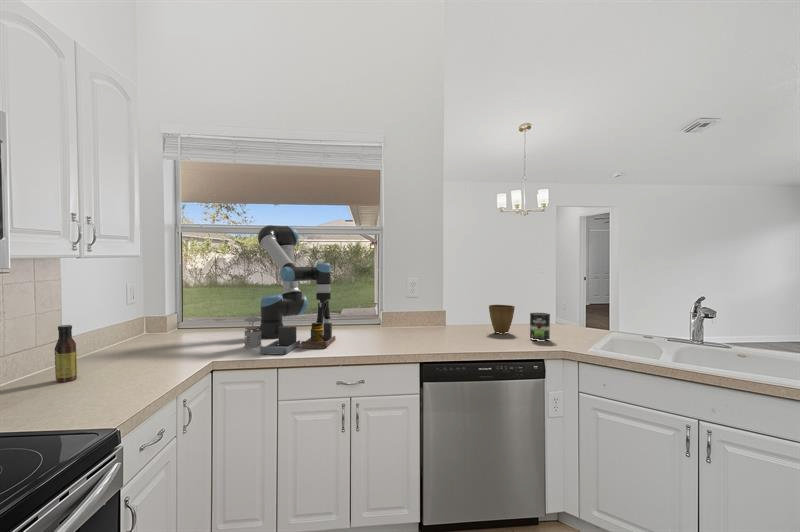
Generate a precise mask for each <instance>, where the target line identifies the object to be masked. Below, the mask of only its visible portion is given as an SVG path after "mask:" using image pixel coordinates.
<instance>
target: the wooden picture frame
mask: <svg viewBox="0 0 800 532" xmlns="http://www.w3.org/2000/svg"><path fill="white" fill-rule="evenodd" d="M335 341H336V335H333V323H332V322H329V323H324V335H323V341H311V337H309V338H308V339H306V340H301V341H300V345H301V346H300V347H301V348H302V349H326V348H328V347H329V346H331V344H332V343H334V342H335Z"/></svg>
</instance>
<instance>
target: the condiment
mask: <svg viewBox="0 0 800 532" xmlns="http://www.w3.org/2000/svg"><path fill="white" fill-rule="evenodd" d="M310 338H311V341H323V328H322V323H317V322H311V328H310Z"/></svg>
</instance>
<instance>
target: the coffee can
mask: <svg viewBox="0 0 800 532" xmlns="http://www.w3.org/2000/svg"><path fill="white" fill-rule="evenodd" d="M529 315H530V316H529V317H530V318H529V339H530V338H533V339H539V340H547V339H550V338H551V337H550V334H551V333H550V330H551V329H550V327H551V320H550V319H551V318H550V317H551V314H550V313H547V312H530V313H529Z"/></svg>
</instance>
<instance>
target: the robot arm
mask: <svg viewBox="0 0 800 532" xmlns="http://www.w3.org/2000/svg"><path fill="white" fill-rule="evenodd" d="M257 241H258V244H259V245H260V247H261V248H262V249H264V250H265V251H266V252H267V253H268V255H269V256H270V257H271V258H270V259H272V261H274V263H275V264H276V266H277V267H278V268H279V270H280V271H279V277H280V280H281V281H282V288H283V289H282V290H283V291H282V293H275V294H269V295H264V296H262V297H261V299H260V303H259V304H260V319H261V321H260V325H259V327H260V329H258V330H261V335H260V336H261V339H263V338H272V339H279V338H278V337H279V332H278V328H279V327H281V326H284V323H283V318H285V317H293V316H294V317H296V316H301V315H303V314H305V312H306V310H307V309H308V308H307V307H308V298H307V297H306V295H305V294H303V291H302V290H301V289H299V283H298V282H302V281H303V282H304V281H305V282H306V281H307V282H310V281H312V282H313V281H316V282H315V283H316V284H315V285H316V287H315V288H316V290H315V291H316V294H315V295H316V296H315V297H316V298H315V299H316V300H317V301H319V302H317V314H316V315H317V317H316V321H315V323H322V328H323V335H324V323H330V319H331V316H330V315H331V313H330V304H329V302H330V301H329V300H331V297H332V296H331V295H332V294H331V289H332V284H331V281H332V278H331V275H332V270H331V263H328V262H327V263H324V262H323V263H322V262H321V263H320V262H318V263H316V264H315V266H311V265H310V266H296V260H295V254H294V251H295V249H296V246H297V244H298V242H299V234H298V232H297V230H296V229H295V228H294V227H292V226H288V225H272V224H271V225H270V224H269V225H266V226H263V227H262V228H261V229H260V230H259V232H258V234H257Z"/></svg>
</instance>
